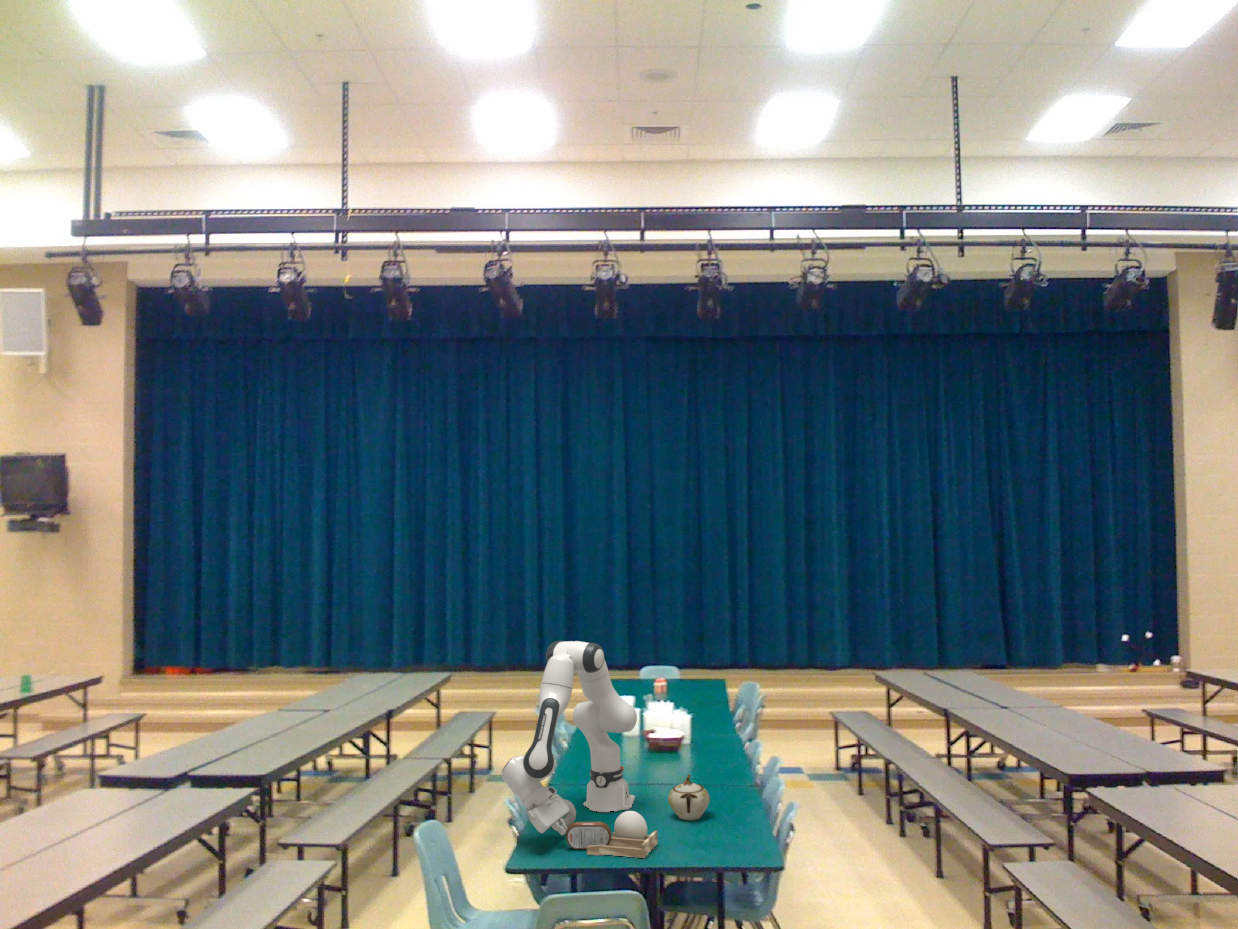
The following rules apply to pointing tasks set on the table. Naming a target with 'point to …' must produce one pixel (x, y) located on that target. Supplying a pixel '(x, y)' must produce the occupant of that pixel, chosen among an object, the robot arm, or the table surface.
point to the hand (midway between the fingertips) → (565, 833)
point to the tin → (588, 834)
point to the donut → (569, 814)
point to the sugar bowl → (688, 800)
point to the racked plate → (630, 826)
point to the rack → (625, 846)
